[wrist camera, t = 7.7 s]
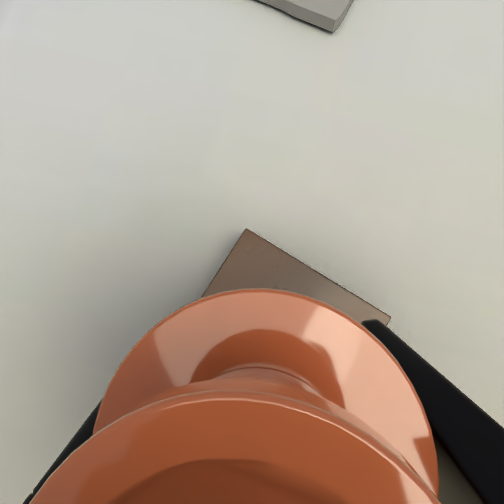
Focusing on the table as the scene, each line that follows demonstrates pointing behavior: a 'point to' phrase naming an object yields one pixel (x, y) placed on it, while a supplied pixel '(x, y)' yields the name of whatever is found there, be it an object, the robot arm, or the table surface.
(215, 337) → the vase
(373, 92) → the table surface
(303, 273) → the stand
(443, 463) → the robot arm
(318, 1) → the office telephone
